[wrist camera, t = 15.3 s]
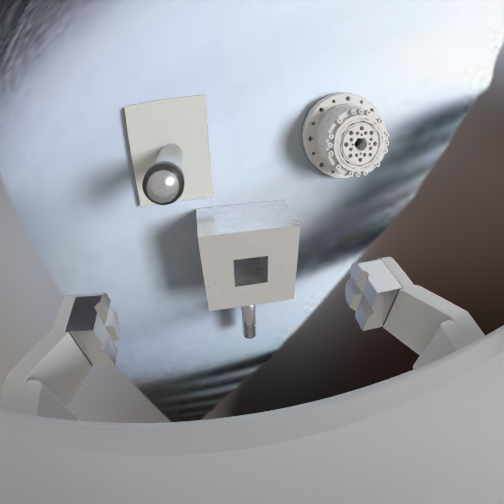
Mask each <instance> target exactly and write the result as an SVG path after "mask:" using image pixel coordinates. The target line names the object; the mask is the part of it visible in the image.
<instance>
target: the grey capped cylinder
mask: <svg viewBox="0 0 504 504" xmlns="http://www.w3.org/2000/svg"><path fill="white" fill-rule="evenodd" d="M182 156H183V153H182V150H181V148H180V147H179V146H178V145H176V144H166V145H165V146H163V147H162V148H161V150H160V152H159V154H158V157H157V159H156V162H155V164H153V165H152V166H151V167H149V169H148V170H147V171H146V174H145V176H144V178H143V182H142V188H143V192H144V194H145V196H146V197H147V198H148V199H149V200H150V201H151V202H153V203H156V204H159V205H167V204H171V203H173V202H175V201H176V200H178V199H179V198H180V196H181V195H182V193H183V190H184V182H185V178H184V174H183V172H182V170H181V164H182Z"/></svg>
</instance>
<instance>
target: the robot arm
mask: <svg viewBox="0 0 504 504" xmlns="http://www.w3.org/2000/svg"><path fill="white" fill-rule="evenodd" d="M349 272H350V274H351V276H352V277H351V278H350V279H349V280H348V281H347V283H346V288H345V295H346V300H347V303H348V304H349V306H350V308H352V309H354V310H355V311H356V316H355V317H356V319H357V321H358V323H359V325H360V326H361V328H362V330H363V331H364V330H368V329H373V328H377V327H382V326H383V328H385V329H386V330H387V331H389V332H390V333H391V334H393V335H394V336H395V337H397V338H398V339H399V340H400V341H402V342H403V343H404V344H406V345H407V346H408V347H410V348H411V349H412V350H413V351H415V352H416V353H417V354H419V355H420V357H419V358H418V360H417V361H416V362H415V364H414V366H413V369H414V370H412V371H409V372H406V373H404V374H401V375H399V376H396V377H393V378H390V379H388V380H385V381H382V382H379V383H376V384H373V385H370V386H367V387H364V388H361V389H357V390H354V391H351V392H347V393H344V394H340V395H337V396H333V397H330V398H326V399H322V400H318V401H314V402H310V403H305V404H301V405H297V406H292V407H288V408H282V409H277V410H272V411H267V412H261V413H255V414H249V415H242V416H235V417H227V418H219V419H210V420H199V421H186V422H169V423H102V422H87V421H79V418H78V417H77V416H76V415H75V414H74V413H73V412H72V411H71V410H70V409H69V408H67V406H68V405H69V403H70V402H71V400H72V399H73V397H74V396H75V394H76V392H77V391H78V389H79V388H80V386H81V385H82V383H83V382H84V380H85V379H86V377H87V376H88V374H89V373H90V371H91V370H92V368H93V367H92V366H112V365H115V361H116V353H117V348H116V346H115V344H114V343H115V341H116V340H117V339H118V338H119V321H118V317H117V315H116V312H115V311H114V310H113V309H112V308H110V307H109V306H110V299H109V297H108V295H107V294H106V293H92V294H78V295H66V296H65V297H64V298H63V300H62V303H61V306H60V309H59V312H58V314H57V318H56V320H55V323H54V326H53V329H52V332H48V333H47V334H46V335H45V336H44V337H43V338H42V339H41V340H40V341H39V342H38V343H37V344H36V345H35V347H33V348H32V349H31V351H29V353H28V354H27V355H26V356H25V357H24V358H23V359H22V360H21V361H20V362H19V363H18V364H17V365H16V366H15V368H14V369H13V370H12V371H11V372H10V373H9V374H8V375H7V378H6V382H5V385H4V389H3V393H2V397H1V401H0V504H504V326H502V327H500V328H498V329H497V330H495V331H493V332H491V333H490V334H488V335H486V336H485V335H484V334H483V332H482V331H481V329H480V328H479V327H478V325H477V324H476V323H475V321H474V320H473V318H472V317H471V316H470V315H469V313H468V312H467V311H465V310H463V309H461V308H460V307H458V306H456V305H454V304H452V303H451V302H449V301H447V300H445V299H443V298H441V297H440V296H437V295H436V294H434V293H432V292H430V291H428V290H426V289H424V288H423V287H421V286H418V285H415V286H414V285H413V283H412V282H411V280H410V279H409V278H408V277H407V275H406V274H405V273H404V272H403V270H402V269H401V268H400V267H399V265H398V264H397V263H396V262H395V261H394V259H393V258H391V257H385V258H380V259H375V260H369V261H362V262H356V263H353V264H352V265H351V268H350V271H349Z"/></svg>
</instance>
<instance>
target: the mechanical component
mask: <svg viewBox="0 0 504 504" xmlns="http://www.w3.org/2000/svg"><path fill="white" fill-rule="evenodd" d="M319 108H320V110H319ZM388 136H389V134H388V133H387V130H386V128H385V125H384V123H383V120H382V119H381V116H380V114H379V113H378V111H377V109H376V108H375V107H374V106H373V105H372V104H371V103H370V102H369V101H368V100H366V99H365V98H363V97H361V96H358V95H355V94H352V93H335V94H331V95H328V96H326V97H324V98H322V99H321V100H319V101H318V102H317V103H316V104H315V105H314V106H313V107H312V108H311V110H310V111H309V113H308V115H307V117H306V119H305V122H304V125H303V131H302V138H303V147H304V149H305V152H306V154H307V157H308V158H309V159H310V161H311V162H312V163H313V164H314V165H315V166H316V167H317V168H318V169H319V170H321V171H322V172H323V173H325V174H327V175H330V176H332V177H338V178H348V177H352V176H357V177H359V176H360V175H367V173H368V172H370V171H372V170H373V169H374V168H375V167H376V166H377V167H379V166H380V161H381V160H382V159H383V156H384V154H385V153H387V152H388V150H387V145H389V141H388Z"/></svg>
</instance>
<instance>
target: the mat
mask: <svg viewBox="0 0 504 504" xmlns="http://www.w3.org/2000/svg"><path fill="white" fill-rule="evenodd" d="M124 108H125V116H126V124H127V131H128V138H129V145H130V151H131V157H132V163H133V169H134V174H135V180H136V185H137V190H138V195H139V200H140V205H141V206H147V205H153V204H156V203H153V202H151V201H150V200H149V199H148V198H147V197H146V196H145V194H144V192H143V188H142V182H143V178H144V176H145V174H146V171H147V170H148V169H149V167H151V166H152V165H153V164H155V162H156V159H157V157H158V154H159V152H160V150H161V148H162V147H163V146H165V145H166V144H176V145H178V146H179V147H180V148H181V150H182V153H183V156H182V164H181V170H182V172H183V174H184V178H185V182H184V190H183V193H182V195H181V196H180V198H179V199H178V200H176V201H183V200H190V199H198V198H207V197H213V189H212V177H211V164H210V151H209V138H208V123H207V107H206V95H196V96H187V97H179V98H171V99H164V100H158V101H152V102H146V103H140V104H135V105H130V106H125V107H124Z"/></svg>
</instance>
